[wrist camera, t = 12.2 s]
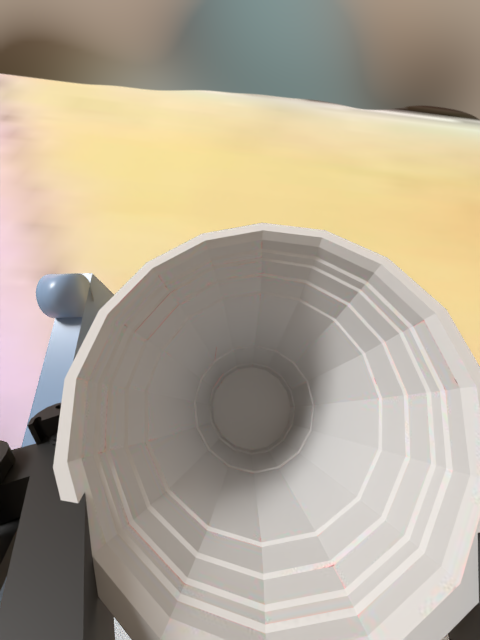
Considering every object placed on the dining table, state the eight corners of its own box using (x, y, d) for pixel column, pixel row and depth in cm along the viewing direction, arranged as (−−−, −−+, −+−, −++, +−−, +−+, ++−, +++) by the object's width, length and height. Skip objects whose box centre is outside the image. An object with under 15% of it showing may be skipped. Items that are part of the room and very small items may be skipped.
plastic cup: (213, 310, 20) (179, 171, 8) (344, 365, 18) (514, 281, 7) (139, 448, 16) (-92, 521, 5) (295, 533, 14) (495, 940, 3)
